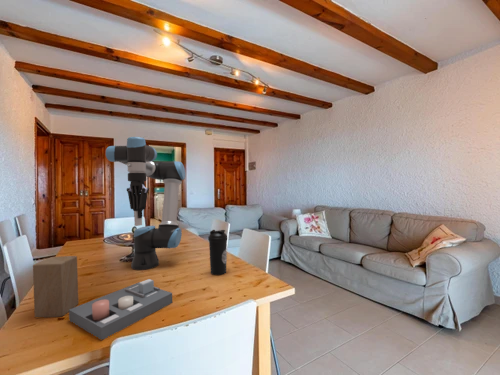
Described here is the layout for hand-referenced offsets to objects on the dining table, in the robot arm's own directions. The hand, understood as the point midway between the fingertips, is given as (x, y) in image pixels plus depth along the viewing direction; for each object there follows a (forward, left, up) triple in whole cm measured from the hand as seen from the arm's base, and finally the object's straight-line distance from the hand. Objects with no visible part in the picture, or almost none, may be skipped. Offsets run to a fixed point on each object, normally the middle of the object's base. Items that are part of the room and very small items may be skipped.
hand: (138, 225), depth 110 cm
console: (+9, -13, -30) cm, 34 cm away
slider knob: (+10, -4, -26) cm, 28 cm away
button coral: (+12, -23, -27) cm, 38 cm away
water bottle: (+15, +37, -31) cm, 50 cm away
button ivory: (+12, -14, -30) cm, 35 cm away
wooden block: (-14, -26, -31) cm, 43 cm away
